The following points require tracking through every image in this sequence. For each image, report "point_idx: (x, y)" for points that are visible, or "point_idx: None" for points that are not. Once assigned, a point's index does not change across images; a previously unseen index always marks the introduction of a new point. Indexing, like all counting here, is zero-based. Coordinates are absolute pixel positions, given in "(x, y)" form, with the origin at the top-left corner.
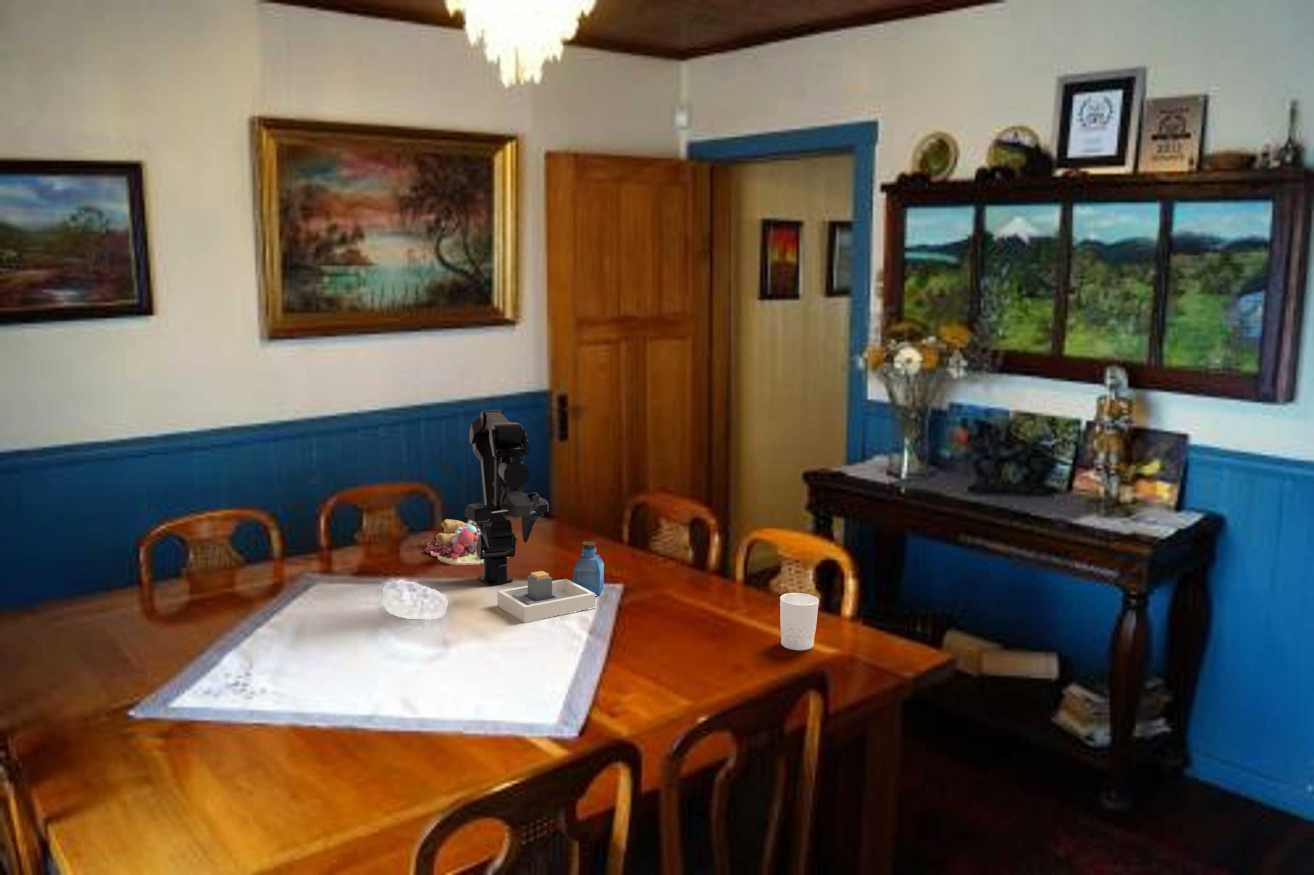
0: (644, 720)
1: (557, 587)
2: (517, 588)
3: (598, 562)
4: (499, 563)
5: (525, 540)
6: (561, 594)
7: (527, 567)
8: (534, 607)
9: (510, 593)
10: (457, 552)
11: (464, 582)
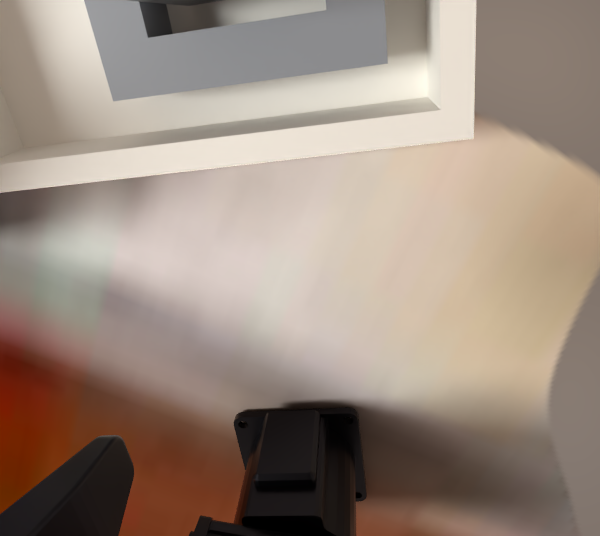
0: None
1: (48, 151)
2: (321, 136)
3: None
4: (294, 494)
5: (108, 454)
6: (47, 117)
7: (130, 522)
8: None
9: (381, 113)
10: None
11: (433, 481)
